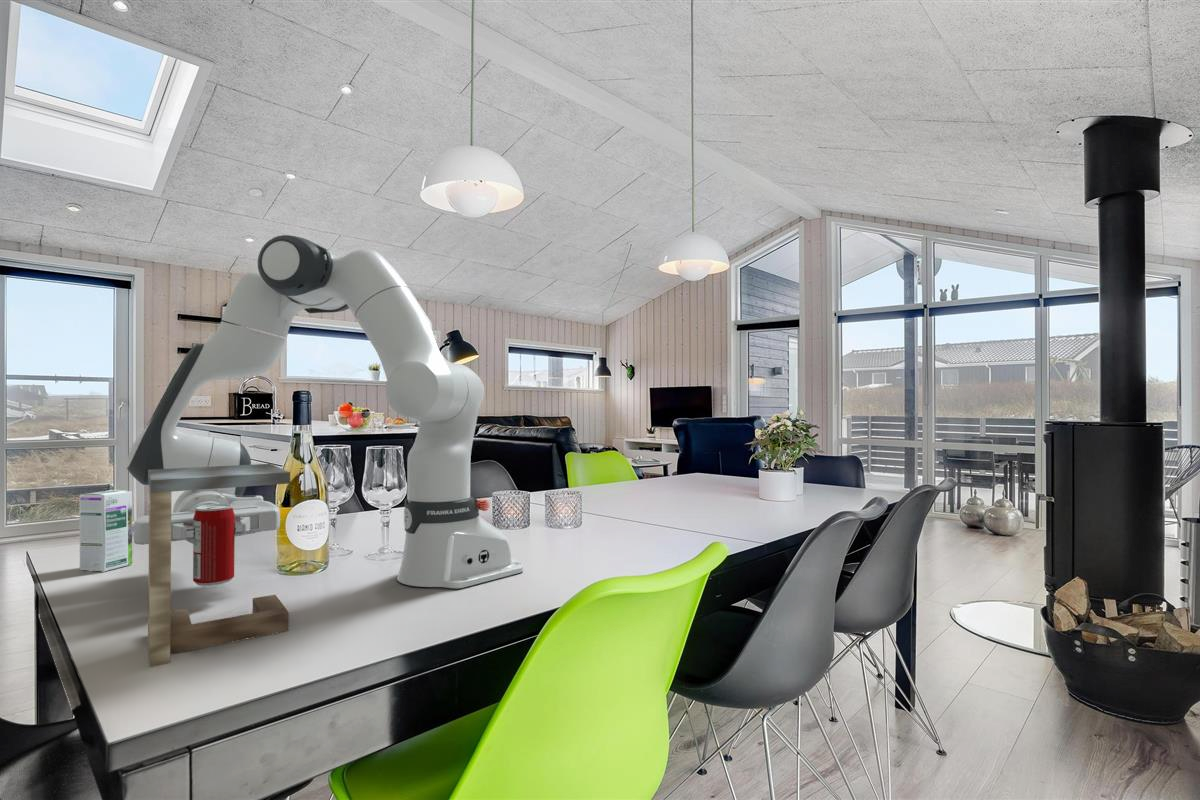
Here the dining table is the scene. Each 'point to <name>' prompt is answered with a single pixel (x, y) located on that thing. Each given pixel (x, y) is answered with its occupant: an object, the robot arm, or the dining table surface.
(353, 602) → the dining table surface
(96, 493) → the syrup box
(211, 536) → the soda can
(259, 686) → the dining table surface
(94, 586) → the dining table surface
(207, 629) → the socket
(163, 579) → the wooden c-frame stand
